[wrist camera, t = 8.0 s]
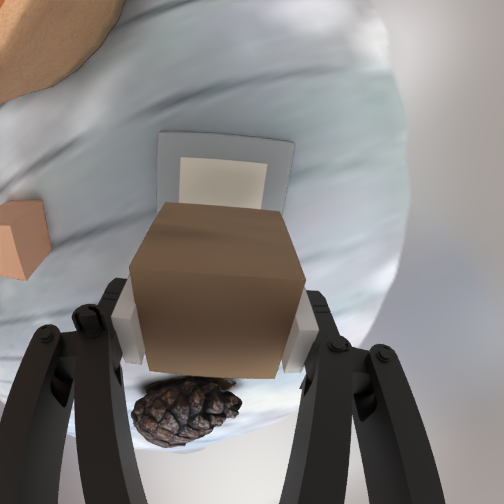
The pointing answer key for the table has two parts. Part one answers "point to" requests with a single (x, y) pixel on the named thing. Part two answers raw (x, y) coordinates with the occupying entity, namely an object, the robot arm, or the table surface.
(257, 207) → the pad
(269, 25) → the table surface
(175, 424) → the pine cone
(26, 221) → the terracotta cube
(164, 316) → the walnut cube
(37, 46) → the pottery
